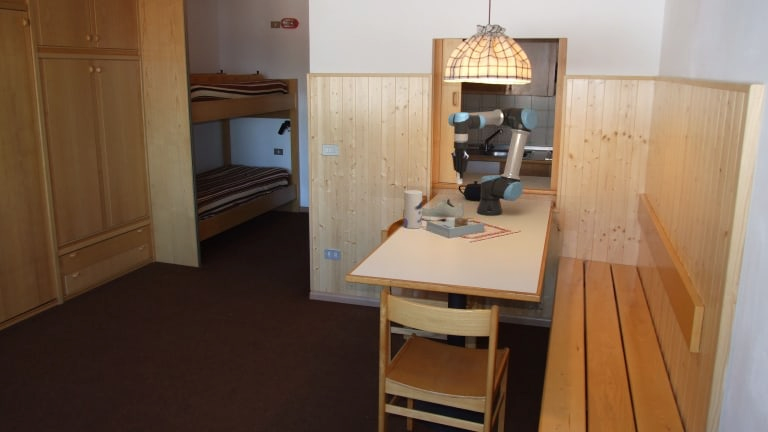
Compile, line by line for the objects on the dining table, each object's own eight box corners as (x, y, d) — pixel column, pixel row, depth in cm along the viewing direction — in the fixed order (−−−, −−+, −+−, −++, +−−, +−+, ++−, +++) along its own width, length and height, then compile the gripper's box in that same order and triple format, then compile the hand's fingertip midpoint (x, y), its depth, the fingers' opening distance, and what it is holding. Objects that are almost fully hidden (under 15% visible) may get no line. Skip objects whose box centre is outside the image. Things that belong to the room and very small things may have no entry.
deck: (460, 224, 375) (460, 215, 374) (483, 231, 359) (484, 223, 358) (426, 229, 362) (426, 221, 361) (449, 238, 346) (449, 229, 345)
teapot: (454, 200, 438) (455, 181, 435) (461, 195, 452) (462, 177, 449) (491, 203, 429) (492, 184, 426) (497, 198, 443) (498, 180, 440)
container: (420, 229, 364) (421, 193, 359) (402, 228, 366) (402, 192, 361) (422, 224, 373) (423, 190, 368) (405, 223, 375) (406, 189, 370)
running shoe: (420, 215, 395) (421, 193, 392) (468, 221, 383) (468, 198, 380) (413, 219, 386) (413, 196, 382) (461, 225, 373) (462, 201, 370)
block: (461, 226, 359) (462, 217, 358) (467, 228, 355) (467, 219, 354) (454, 227, 356) (454, 218, 355) (460, 229, 352) (460, 220, 351)
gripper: (474, 142, 355) (472, 185, 360) (458, 139, 365) (457, 181, 371) (463, 143, 351) (461, 186, 356) (447, 140, 361) (446, 182, 367)
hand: (459, 184), depth 364 cm, fingers closed
